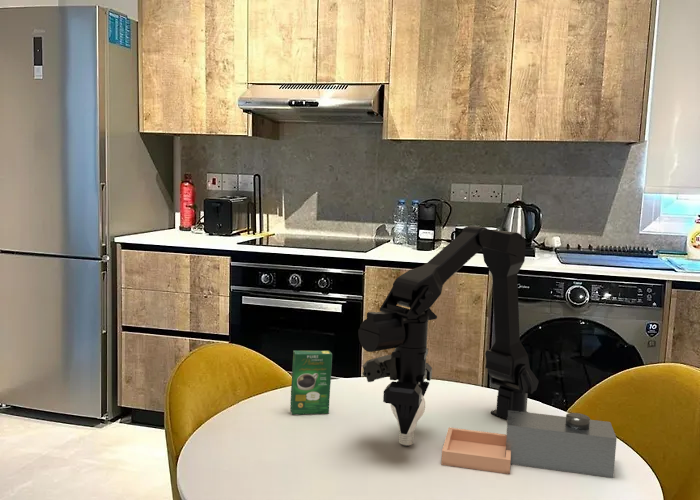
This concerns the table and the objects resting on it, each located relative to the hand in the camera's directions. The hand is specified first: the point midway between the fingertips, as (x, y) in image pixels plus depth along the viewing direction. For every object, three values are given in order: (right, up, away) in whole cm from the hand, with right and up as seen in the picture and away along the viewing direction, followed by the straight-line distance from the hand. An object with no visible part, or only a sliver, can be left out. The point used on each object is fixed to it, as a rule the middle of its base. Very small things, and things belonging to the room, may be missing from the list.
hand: (407, 427), depth 124 cm
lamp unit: (+26, -5, -4) cm, 27 cm away
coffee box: (-19, -1, +16) cm, 25 cm away
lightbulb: (0, -4, 0) cm, 4 cm away
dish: (+12, -4, -3) cm, 13 cm away
